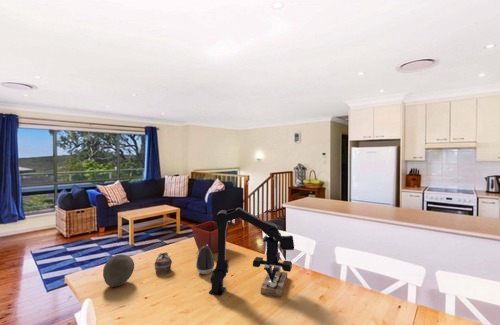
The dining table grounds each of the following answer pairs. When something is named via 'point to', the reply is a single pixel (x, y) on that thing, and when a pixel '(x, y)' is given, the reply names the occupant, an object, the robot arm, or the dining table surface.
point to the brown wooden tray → (274, 291)
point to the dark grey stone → (118, 270)
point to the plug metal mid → (276, 278)
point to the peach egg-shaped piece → (279, 273)
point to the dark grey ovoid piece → (205, 260)
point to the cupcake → (163, 263)
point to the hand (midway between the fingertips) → (272, 280)
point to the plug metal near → (272, 283)
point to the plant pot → (207, 235)
